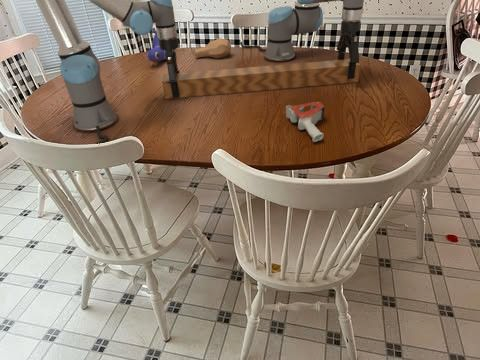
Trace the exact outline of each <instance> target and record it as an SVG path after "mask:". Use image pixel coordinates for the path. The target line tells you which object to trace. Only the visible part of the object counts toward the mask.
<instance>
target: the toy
mask: <svg viewBox="0 0 480 360" xmlns="http://www.w3.org/2000/svg"><path fill="white" fill-rule="evenodd" d="M151 33H152V34H153V33H154V35H153V38H152V43H151V48H150V49H147V50H148V51H147V52H146V58H147V59H148V61H150V62H152V63H153V65H154V67H156V66H157V63H158V62H162V61H164V60H165V61H166V58H165V54H166V51H165V50H161V49H160V47H159V41H158V40H159V38H158V37H157V31H156V30H151V31H150V34H151Z"/></svg>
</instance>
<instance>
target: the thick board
mask: <svg viewBox="0 0 480 360" xmlns="http://www.w3.org/2000/svg"><path fill="white" fill-rule="evenodd" d="M349 62H350V58H344V59H343V60H338V59H332V60H321V61H309V62H308V61H307V62H295V63H285V64H273V65H261V66H259V65H258V66H248V67H238V68H237V67H235V68H223V69H214V70H212V69H211V70H202V71H201V70H200V71H190V72H189V71H188V72H180V73H176V80H177V83H178V89H179V96H180V97H178V98H177V99H180V98H181V99H182V98H191V97H203V96H215V95H225V94H237V93H248V92H249V93H250V92H259V91H261V92H262V91H273V90H282V89H283V90H285V89H295V88H307V87H318V86H328V85H329V86H331V85H340V84H341V85H342V84H352V83H353V84H354V83H359V79H360V71H361V64H360V62H359V63H356V68H355V76H354V79H347V76H348V67H349ZM169 81H170V80H169V73H167V74H163V76H162V80H161V83H162V90H163V95H164V99H165V100H167V99H168V100H169V99H174V98H173V95H172V89H171V83H169Z"/></svg>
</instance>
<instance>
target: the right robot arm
mask: <svg viewBox="0 0 480 360" xmlns="http://www.w3.org/2000/svg"><path fill="white" fill-rule="evenodd" d="M337 1H338V2H339V1H340V2H342V3H343V4H342V10H341V20H342V21H341V22H340V36H339V39H338V42H337V45H336V51H337V53H338V54H337V60H343V59H346V49H348V50H347V51H348V56H349V57H348V58H349V59H350V62H349V67H348V76H347V79H354V76H355V68H356V63H359V64H360V52H359V51H360V50H359V49H360V48H359V46H360V45H359V39H360V36H357V35H356V33H358V32H360V30H361V25H362V21H361V20H362V17H363V13H364V10H363V9H364V3H365V0H296V2H295V3H294V8H293V7H292V6H290V5H286V6H278V7H275V8H273V9H271V10H270V11H269V13H268V20H267V24H268V25H267V27H268V28H267V31H268V41H267V42H268V43H267V47H266V48H262V46H260V45H244V44H243V41H240V46H241V48H244V49H249V48H250V49H251V48H258V49H259V50H260V51H261V52H265V54H264V59H265V60H266V61H268V62H273V63H284V62H290V61H293V60H294V59H295V58H296V54H295V49H294V46H293V41H292V37H293V36H294V35H302V34H311V33H315V32H317V31H318V30H319V29H320V28H321V26H322V24H323V19H324V13H323V9H322V7H321V6H320V3H330V2H337Z"/></svg>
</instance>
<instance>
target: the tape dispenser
mask: <svg viewBox="0 0 480 360" xmlns="http://www.w3.org/2000/svg"><path fill="white" fill-rule="evenodd" d="M305 107H310V109H309V110H306V111H304V109H305ZM285 115H286V118H288V119H290V123H297V128H298V130H300V131H302V130H306V132H307V134H308V135H309V136H310V138H311V140H312V142H314V143H316V142H319V141H321V140H323V138H324V133H323V132H321V131H320V129H319V128H318V127H317V126H315V125H317V123H318V121H322V120H323V118H324V115H325V105H324V104H323V103H322V102H321V101H319V100H318V101H311V102H306V103H301V104H295V105H290V104H288V105H286V106H285Z"/></svg>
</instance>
